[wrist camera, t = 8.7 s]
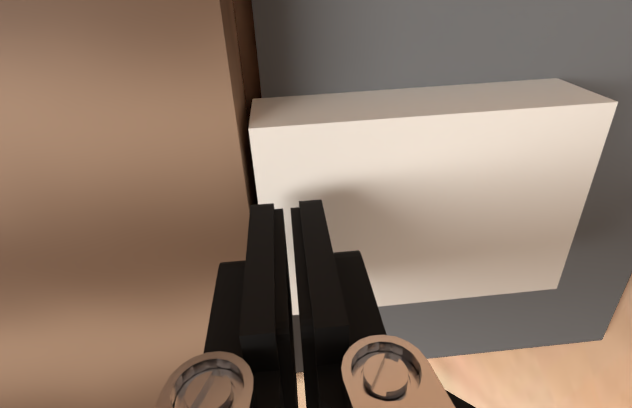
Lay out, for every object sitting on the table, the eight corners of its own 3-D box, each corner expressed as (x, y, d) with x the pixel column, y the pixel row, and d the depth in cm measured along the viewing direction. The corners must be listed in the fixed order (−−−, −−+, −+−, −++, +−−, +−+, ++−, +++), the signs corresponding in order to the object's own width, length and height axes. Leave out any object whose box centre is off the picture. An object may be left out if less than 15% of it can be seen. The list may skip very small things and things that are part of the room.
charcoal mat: (232, -188, 9) (231, -194, 9) (823, -200, 10) (843, -206, 10) (290, 365, 18) (290, 373, 18) (596, 333, 19) (602, 340, 19)
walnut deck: (-515, -172, 8) (-886, -237, 5) (209, -188, 9) (184, -249, 6) (-60, 402, 17) (-119, 480, 15) (279, 366, 18) (280, 433, 15)
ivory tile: (252, 98, 12) (248, 128, 10) (556, 77, 12) (618, 101, 10) (272, 265, 15) (272, 317, 13) (516, 243, 15) (557, 288, 13)
